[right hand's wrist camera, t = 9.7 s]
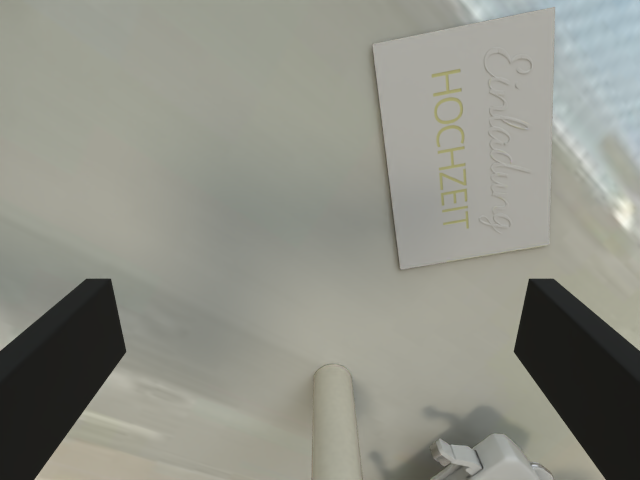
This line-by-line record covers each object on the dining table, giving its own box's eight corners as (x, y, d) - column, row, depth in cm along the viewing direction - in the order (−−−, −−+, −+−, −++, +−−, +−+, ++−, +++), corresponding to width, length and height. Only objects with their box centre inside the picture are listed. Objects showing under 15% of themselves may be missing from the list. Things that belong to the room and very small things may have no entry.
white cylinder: (352, 394, 48) (371, 573, 30) (314, 395, 48) (311, 575, 30) (351, 362, 46) (371, 533, 29) (312, 364, 46) (307, 536, 29)
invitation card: (372, 43, 34) (555, 6, 33) (372, 44, 34) (553, 7, 33) (400, 270, 41) (549, 245, 40) (399, 268, 42) (548, 244, 41)
